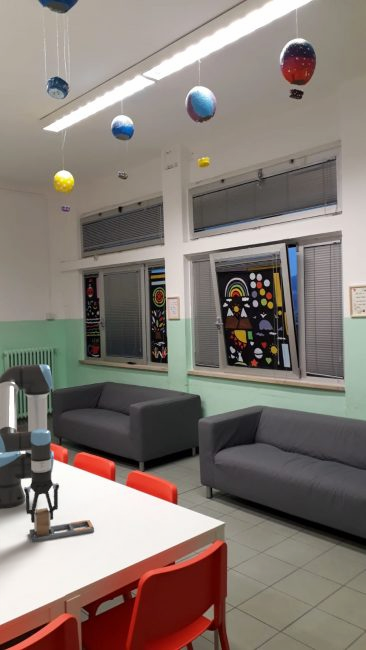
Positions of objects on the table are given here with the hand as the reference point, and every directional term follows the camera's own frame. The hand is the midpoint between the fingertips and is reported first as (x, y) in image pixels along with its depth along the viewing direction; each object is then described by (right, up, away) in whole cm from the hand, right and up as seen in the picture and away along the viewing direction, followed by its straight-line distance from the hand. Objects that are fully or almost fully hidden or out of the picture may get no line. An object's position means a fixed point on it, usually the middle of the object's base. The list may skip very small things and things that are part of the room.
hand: (42, 529), depth 199 cm
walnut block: (0, -3, 0) cm, 3 cm away
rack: (+7, -3, +3) cm, 8 cm away
